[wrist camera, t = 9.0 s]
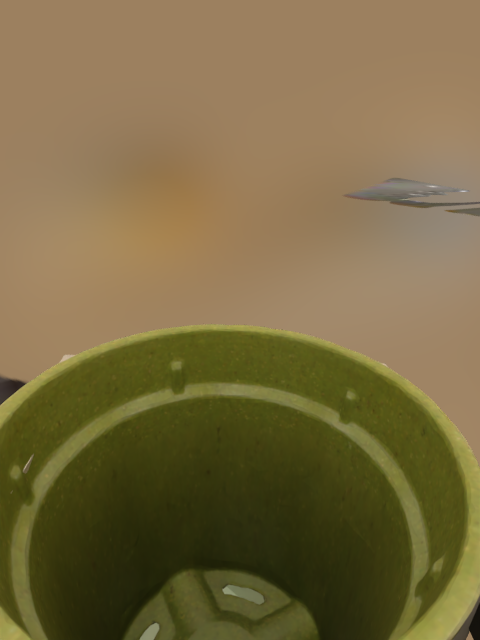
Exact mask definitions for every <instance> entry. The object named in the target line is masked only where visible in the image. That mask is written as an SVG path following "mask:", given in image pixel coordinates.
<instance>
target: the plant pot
mask: <svg viewBox="0 0 480 640" xmlns="http://www.w3.org/2000/svg"><path fill="white" fill-rule="evenodd" d="M33 454H34V456H33V459H32V461H31V464H30V467H29V469H28V471H27V473H26V474H25V473H24V472H23V470H24V467H25V466H26V464H27V463H28V461H29V460H30V458H31V457H32V455H33ZM12 490H13V491H12ZM11 492H12V493H11ZM228 585H233V586H238V587H241V588H249V589H252V590H254V591H256V592H258V593H260V594H261V595H262V596H263V598H264V602H263V603H262V604H260V605H259V604H256V603H254V602H252V601H249V600H247V599H245V598H241V597H238V596H234V595H232V594H224V592H223V590H222V589H224V588H225V587H226V586H228ZM479 595H480V467H479V465H478V462H477V460H476V458H475V456H474V454H473V451H472V449H471V448H470V446H469V444H468V443H467V441H466V440H465V438H464V436H463V435H462V433H461V432H460V431H459V430H458V429H457V427H456V425H455V424H453V423H452V422H451V421H450V420H449V418H448V417H447V416H446V414H445V413H444V412H443V411H442V410H441V409H440V408H439V407H438V406H437V405H436V403H435V402H434V401H433V400H431V399H430V398H429V397H428V396H427V395H426V394H425V393H424V392H422V391H421V390H420V389H419V388H417V387H416V386H415V385H413V384H412V383H411V382H410V381H408V380H407V379H405V378H404V377H402V376H400V375H399V374H397V373H396V372H394V371H393V370H391V369H390V368H388V367H387V366H385V365H383V364H382V363H380V362H378V361H375V360H373V359H371V358H369V357H367V356H365V355H362V354H360V353H358V352H355V351H352V350H349V349H346V348H344V347H342V346H339V345H337V344H334V343H332V342H329V341H325V340H323V339H320V338H316V337H313V336H309V335H305V334H301V333H297V332H292V331H287V330H276V329H270V328H267V327H259V326H248V325H231V326H229V325H216V324H207V325H193V326H183V327H175V328H167V329H158V330H154V331H149V332H144V333H140V334H135V335H132V336H128V337H124V338H120V339H116V340H113V341H111V342H108V343H104V344H102V345H99V346H97V347H94V348H91V349H89V350H86V351H84V352H81V353H80V354H78V355H75V356H73V357H71V358H69V359H67V360H65V361H62V362H60V363H59V364H57V365H55V366H53V367H51V368H49V369H48V370H47V371H45V372H43V373H42V374H40V375H39V376H38V377H37V378H35V379H34V380H32V381H30V382H29V383H27V384H26V385H24V386H23V387H22V388H20V389H19V390H18V391H17V392H16V393H14V394H13V395H12V396H11V397H10V398H8V399H7V400H6V401H5V402H3V403H2V404H1V405H0V640H140V638H141V636H142V635H143V633H144V632H145V631H146V630H147V629H148V628H149V626H150V625H153V624H154V623H157V624H159V631H158V632H157V634H156V636H155V638H154V640H453V639H454V637H455V636H456V635H457V633H458V632H459V631H460V629H461V627H462V626H463V624H464V622H465V621H466V619H467V618H468V616H469V615H470V613H471V612H472V610H473V608H474V606H475V604H476V602H477V600H478V598H479Z"/></svg>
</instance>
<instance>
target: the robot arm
mask: <svg viewBox="0 0 480 640" xmlns="http://www.w3.org/2000/svg"><path fill="white" fill-rule="evenodd" d="M73 356H75V355H64V357H63V358H62V360H61V361H60V362H62V361H65V360H67V359H69V358H71V357H73ZM383 365H385V366H387V365H386V364H383ZM33 456H34V454H33V455H32V457H31V458H30V460H29V461H28V463H27V464H26V466H25V467H24V470H23V472H24V473H25V474H26V473H27V471H28V469H29V467H30V464H31V461H32V459H33ZM12 491H13V490H12ZM11 493H12V492H11ZM469 631H470V632H471V635H472V637H473V639H474V640H480V595H479V598H478V600H477V602H476V604H475V606H474V608H473V610H472V612H471V613H470V615H469V616H468V618H467V619H466V621H465V622H464V624H463V626H462V627H461V629H460V631H459V632H458V633H457V635H456V636H455V637H454V639H453V640H466V638H467V636H468V634H469Z"/></svg>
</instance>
